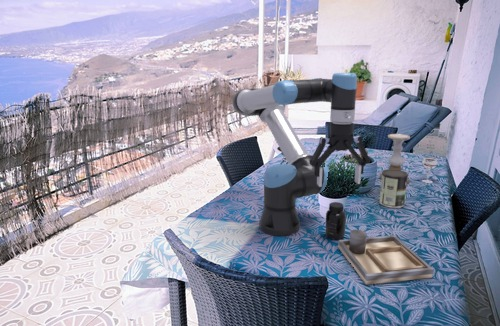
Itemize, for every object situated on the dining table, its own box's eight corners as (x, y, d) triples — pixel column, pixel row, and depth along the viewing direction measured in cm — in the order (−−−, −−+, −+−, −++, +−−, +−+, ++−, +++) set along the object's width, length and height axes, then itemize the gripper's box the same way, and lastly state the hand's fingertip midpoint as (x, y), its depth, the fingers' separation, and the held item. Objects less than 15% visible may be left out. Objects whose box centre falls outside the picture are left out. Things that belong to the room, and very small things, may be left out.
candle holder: (399, 177, 179) (404, 133, 172) (409, 184, 169) (415, 137, 162) (379, 177, 179) (383, 133, 172) (388, 184, 168) (393, 138, 162)
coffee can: (401, 199, 150) (405, 169, 146) (406, 209, 140) (410, 177, 136) (377, 198, 152) (380, 168, 148) (381, 207, 142) (384, 175, 138)
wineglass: (431, 179, 175) (434, 157, 172) (437, 183, 168) (440, 160, 165) (417, 179, 176) (420, 157, 172) (422, 183, 169) (426, 160, 166)
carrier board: (366, 284, 93) (368, 261, 91) (338, 247, 112) (339, 227, 110) (432, 277, 95) (435, 255, 93) (394, 242, 114) (396, 223, 112)
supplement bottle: (330, 229, 124) (332, 199, 121) (347, 234, 120) (350, 203, 117) (321, 236, 119) (323, 205, 116) (339, 242, 115) (341, 210, 112)
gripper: (308, 125, 103) (306, 190, 109) (384, 122, 106) (378, 185, 112) (301, 122, 110) (299, 182, 116) (372, 119, 113) (367, 178, 119)
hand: (338, 184), depth 114 cm, fingers open, 13 cm apart
